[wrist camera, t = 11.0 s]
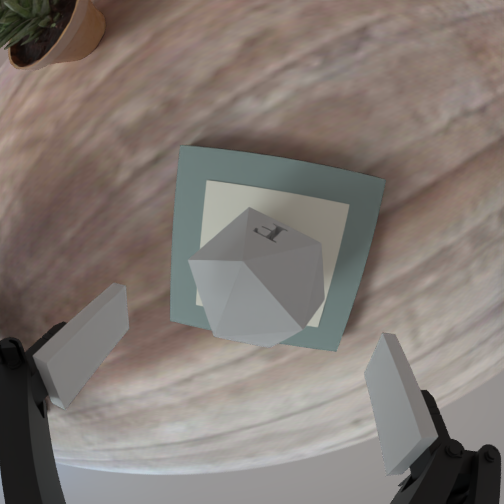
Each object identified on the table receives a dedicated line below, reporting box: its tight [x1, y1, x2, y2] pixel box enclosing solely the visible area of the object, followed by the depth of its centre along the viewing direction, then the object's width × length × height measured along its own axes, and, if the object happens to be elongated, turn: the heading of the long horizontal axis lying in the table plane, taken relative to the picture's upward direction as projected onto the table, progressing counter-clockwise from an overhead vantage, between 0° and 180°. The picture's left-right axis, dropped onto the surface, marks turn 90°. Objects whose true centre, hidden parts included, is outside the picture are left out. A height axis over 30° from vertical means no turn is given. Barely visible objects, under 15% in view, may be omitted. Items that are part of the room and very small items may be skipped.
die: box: [188, 207, 325, 348], centre depth 20 cm, size 8×9×10 cm
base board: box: [170, 145, 386, 352], centre depth 25 cm, size 16×16×2 cm
